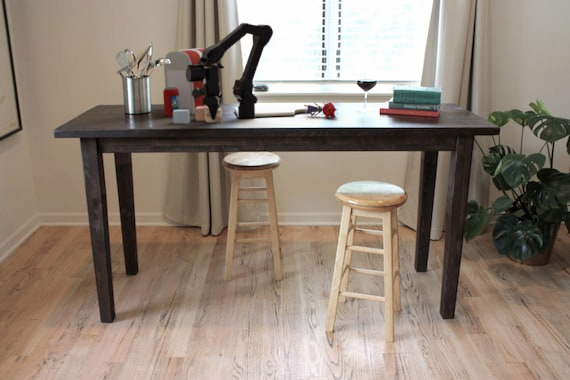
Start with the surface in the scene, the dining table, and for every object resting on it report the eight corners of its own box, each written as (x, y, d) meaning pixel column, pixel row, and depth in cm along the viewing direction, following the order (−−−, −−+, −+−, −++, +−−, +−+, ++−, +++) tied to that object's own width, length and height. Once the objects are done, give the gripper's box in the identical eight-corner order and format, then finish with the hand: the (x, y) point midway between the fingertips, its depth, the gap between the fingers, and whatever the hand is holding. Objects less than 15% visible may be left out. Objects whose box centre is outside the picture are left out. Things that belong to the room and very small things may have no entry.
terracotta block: (198, 118, 260) (197, 106, 258) (207, 118, 259) (206, 106, 258) (195, 120, 254) (195, 108, 252) (205, 120, 254) (204, 108, 252)
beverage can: (177, 117, 262) (175, 89, 258) (162, 116, 263) (160, 88, 260) (182, 114, 268) (181, 87, 265) (168, 114, 269) (166, 86, 266)
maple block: (222, 120, 253) (221, 108, 252) (220, 122, 250) (220, 110, 248) (207, 120, 254) (207, 108, 252) (206, 122, 250) (205, 110, 248)
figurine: (307, 112, 264) (341, 114, 259) (301, 120, 257) (335, 122, 252) (306, 98, 261) (340, 100, 256) (300, 105, 254) (335, 107, 249)
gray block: (190, 121, 252) (189, 109, 251) (188, 123, 248) (187, 111, 247) (175, 121, 252) (174, 109, 251) (173, 123, 248) (172, 111, 247)
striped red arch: (219, 108, 284) (216, 48, 276) (194, 113, 269) (190, 51, 262) (191, 105, 292) (188, 47, 284) (166, 111, 278) (161, 50, 270)
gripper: (196, 77, 256) (198, 115, 260) (188, 83, 238) (190, 123, 243) (222, 77, 256) (224, 114, 260) (216, 83, 238) (218, 122, 242)
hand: (214, 118), depth 251 cm, fingers closed on maple block, 4 cm apart
